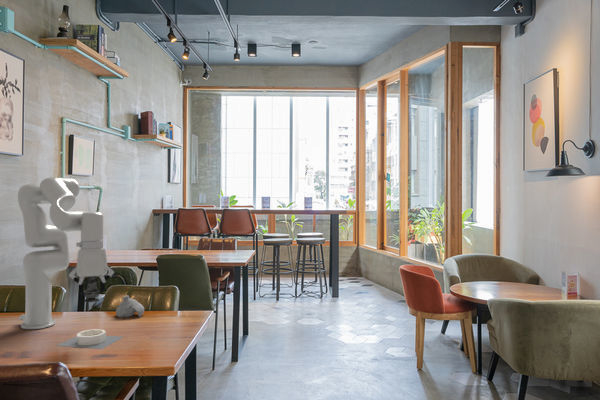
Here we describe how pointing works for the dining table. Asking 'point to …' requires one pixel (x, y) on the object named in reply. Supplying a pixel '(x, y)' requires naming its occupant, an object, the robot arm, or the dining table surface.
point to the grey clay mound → (129, 308)
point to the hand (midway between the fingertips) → (91, 293)
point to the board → (102, 345)
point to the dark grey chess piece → (91, 290)
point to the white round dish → (91, 337)
